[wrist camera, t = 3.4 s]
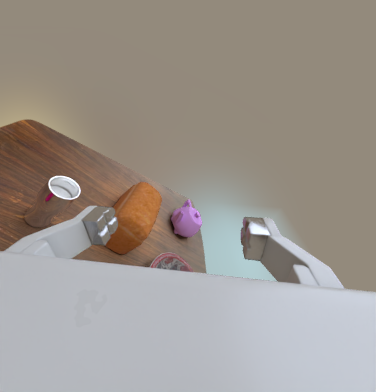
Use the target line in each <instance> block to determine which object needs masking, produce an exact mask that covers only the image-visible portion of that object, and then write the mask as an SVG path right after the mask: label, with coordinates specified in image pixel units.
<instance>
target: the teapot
mask: <svg viewBox="0 0 376 392" xmlns="http://www.w3.org/2000/svg"><path fill="white" fill-rule="evenodd" d="M188 204H189V207H186V206H187V205H188ZM171 221H172V222H173V225H174V227H175V229H174V233H175V234H179V235H181V236H184V237H192V236H193V235H195V234H196V233H197V232H198V230H199V229H200V227H201V225H202V221H201V217H200V213H199V212H198V211H197V210H196V209H194V208H192V206H191V201H190V200H187V201H186V202H185V203H184V205H183V206H182V208H179V209H177V210H175V211H174V212H173V216H172V217H171Z"/></svg>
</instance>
